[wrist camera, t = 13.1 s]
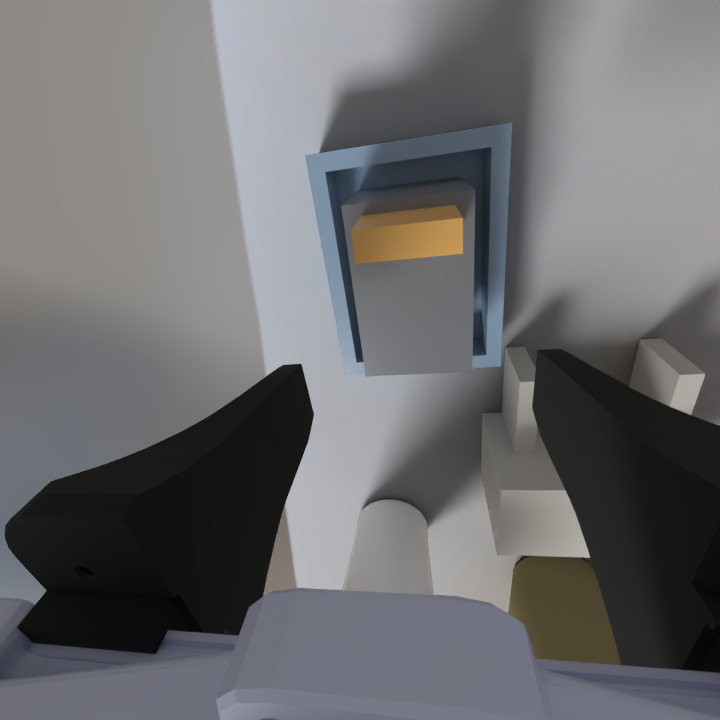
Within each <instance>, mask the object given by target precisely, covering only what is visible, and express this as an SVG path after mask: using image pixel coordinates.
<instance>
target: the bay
mask: <svg viewBox="0 0 720 720" xmlns="http://www.w3.org/2000/svg"><path fill="white" fill-rule="evenodd" d="M535 372H536V368H535V366H534V364H533V362H532V360H531V358H530V356H529V354H528V352H527V350H526V349H525V347H524V346H521V347H505V360H504V379H503V399H502V412H501V413H482V445H481V475H482V480H483V485H484V490H485V495H486V500H487V505H488V511H489V516H490V521H491V526H492V531H493V536H494V541H495V546H496V552H497V555H522V556H553V557H584V558H590V555H589V552H588V549H587V546H586V543H585V540H584V537H583V534H582V531H581V528H580V525H579V522H578V519H577V516H576V513H575V511H574V509H573V506H572V504H571V501H570V499H569V497H568V495H567V493H566V490H565V488H564V486H563V484H562V482H561V480H560V478H559V475H558V473H557V471H556V469H555V467H554V465H553V463H552V460H551V458H550V456H549V454H548V452H547V450H546V447H545V445H544V443H543V441H542V438H541V436H540V433H539V430H538V427H537V423H536V420H535V416H534V413H533V409H532V402H533V392H534V382H535ZM704 377H705V373H704V372H703V371H702V370H700V369H699V368H698V367H697V366H695V365H694V364H693V363H692V362H691V361H689V360H688V359H687V358H686V357H684V356H683V355H682V354H681V353H679V352H678V351H677V350H676V349H674V348H673V347H672V346H671V345H669V344H668V343H667V342H666V341H665V340H663V339H662V338H654V339H640V341H639V345H638V350H637V354H636V358H635V362H634V366H633V370H632V374H631V378H630V383H629V387H630V388H632V389H634V390H636V391H638V392H640V393H642V394H644V395H646V396H648V397H650V398H652V399H654V400H656V401H659V402H661V403H663V404H665V405H667V406H670V407H672V408H675V409H677V410H680V411H682V412H684V413H687V414H689V415H691V414H692V411H693V408H694V406H695V403H696V400H697V397H698V394H699V391H700V389H701V386H702V383H703V380H704Z"/></svg>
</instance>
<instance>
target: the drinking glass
mask: <svg viewBox="0 0 720 720" xmlns="http://www.w3.org/2000/svg"><path fill="white" fill-rule="evenodd" d="M342 590H347V591H366V592H385V593H405V594H424V595H434V592H433V583H432V574H431V566H430V557H429V547H428V526H427V522H426V520H425V518H424V516H423V514H422V513H421V512H420V511H419V510H418V509H417V508H415V507H414V506H412V505H411V504H408V503H406V502H403V501H399V500H392V499H385V500H379V501H375V502H373V503H371V504H369V505H367V506H366V507H365V508H364V509H363V510H362V511H361V513H360V514H359V517H358V520H357V525H356V531H355V538H354V543H353V547H352V551H351V555H350V559H349V563H348V567H347V572H346V576H345V580H344V584H343V588H342Z"/></svg>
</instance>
